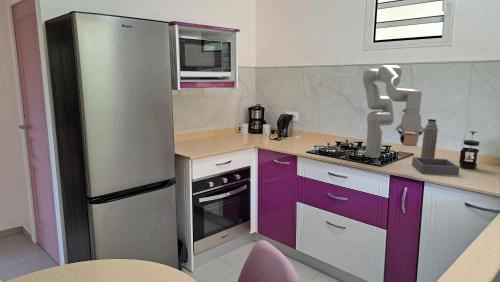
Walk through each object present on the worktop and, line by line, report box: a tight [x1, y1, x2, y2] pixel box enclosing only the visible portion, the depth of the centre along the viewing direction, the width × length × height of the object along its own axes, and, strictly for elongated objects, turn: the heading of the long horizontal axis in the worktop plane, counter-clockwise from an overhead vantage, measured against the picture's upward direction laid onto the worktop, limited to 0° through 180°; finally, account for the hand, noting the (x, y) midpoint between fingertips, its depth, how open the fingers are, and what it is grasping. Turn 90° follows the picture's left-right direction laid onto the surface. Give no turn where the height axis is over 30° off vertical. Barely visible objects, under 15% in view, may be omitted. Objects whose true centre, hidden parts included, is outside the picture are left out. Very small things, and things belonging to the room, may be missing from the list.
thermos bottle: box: [420, 118, 439, 159], centre depth 233 cm, size 8×8×28 cm
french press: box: [458, 130, 481, 171], centre depth 219 cm, size 12×9×23 cm
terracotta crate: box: [400, 132, 419, 147], centre depth 205 cm, size 7×9×6 cm
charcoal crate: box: [411, 156, 461, 177], centre depth 213 cm, size 20×20×5 cm
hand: (408, 142), depth 206 cm, fingers closed on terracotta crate, 6 cm apart
